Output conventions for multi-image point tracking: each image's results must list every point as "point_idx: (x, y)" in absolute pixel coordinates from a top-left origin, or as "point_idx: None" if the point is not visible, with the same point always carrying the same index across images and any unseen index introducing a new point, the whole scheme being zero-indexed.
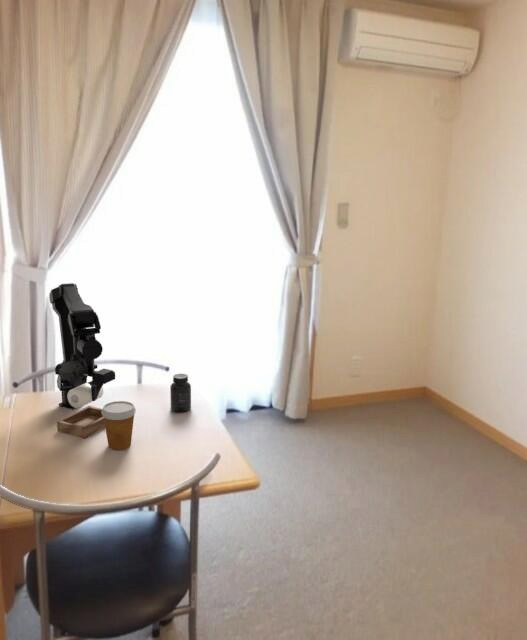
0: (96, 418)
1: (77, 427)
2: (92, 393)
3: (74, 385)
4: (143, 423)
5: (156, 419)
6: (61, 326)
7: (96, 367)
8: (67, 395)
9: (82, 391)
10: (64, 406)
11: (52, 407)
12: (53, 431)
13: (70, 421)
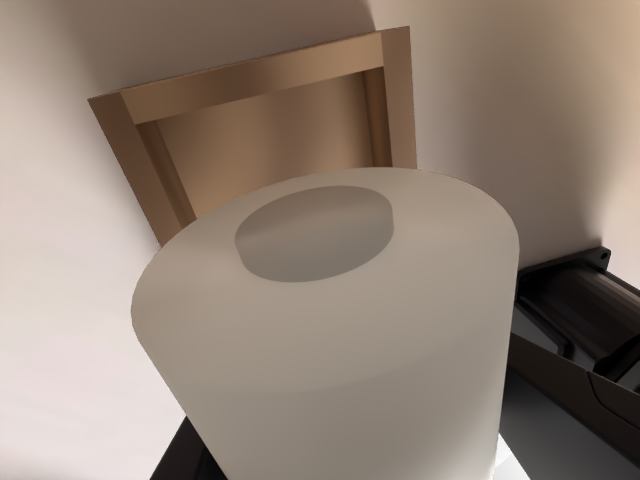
0: None
1: (172, 80)
2: (179, 474)
3: (574, 424)
4: (112, 415)
5: (118, 462)
6: None
7: None
8: (491, 199)
9: (216, 432)
10: (569, 256)
11: (619, 215)
12: (399, 9)
13: (379, 152)
